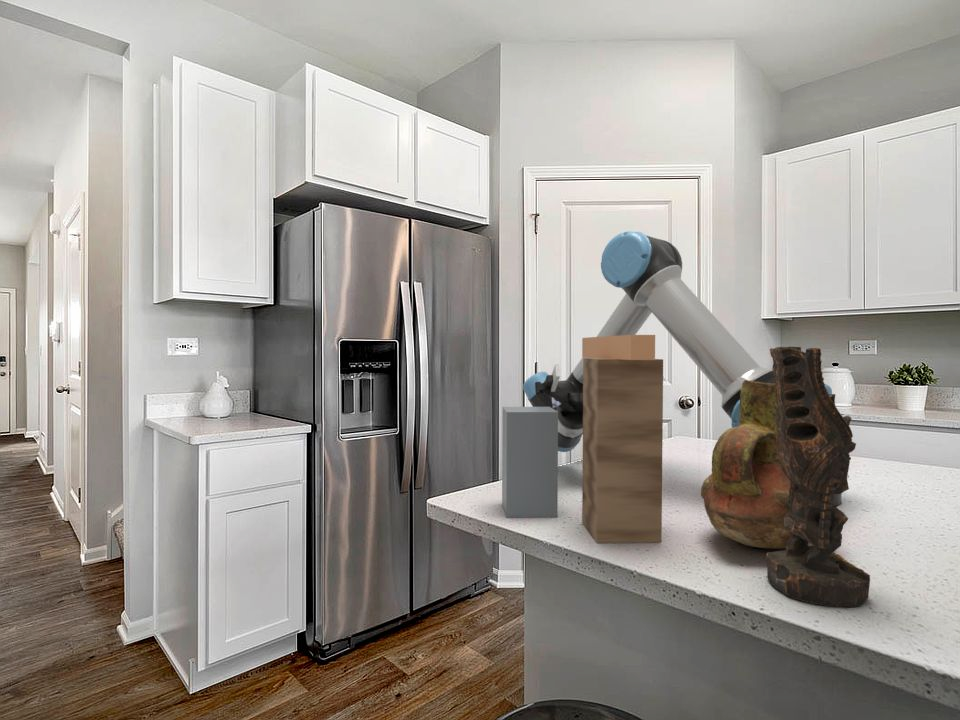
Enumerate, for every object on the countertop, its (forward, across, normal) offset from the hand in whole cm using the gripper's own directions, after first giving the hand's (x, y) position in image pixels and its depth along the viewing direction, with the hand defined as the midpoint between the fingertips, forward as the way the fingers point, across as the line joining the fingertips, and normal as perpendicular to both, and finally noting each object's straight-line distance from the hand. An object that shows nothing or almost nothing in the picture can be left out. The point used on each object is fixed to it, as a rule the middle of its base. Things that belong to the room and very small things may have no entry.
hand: (593, 370), depth 108 cm
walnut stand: (+2, 0, -31) cm, 31 cm away
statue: (+21, -18, -42) cm, 51 cm away
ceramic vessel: (+7, -21, -34) cm, 40 cm away
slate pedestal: (-9, +13, -24) cm, 29 cm away
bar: (+14, 0, -5) cm, 15 cm away
